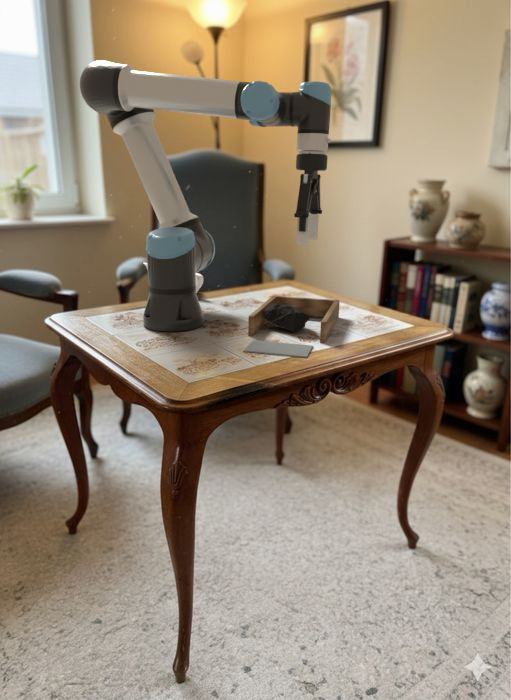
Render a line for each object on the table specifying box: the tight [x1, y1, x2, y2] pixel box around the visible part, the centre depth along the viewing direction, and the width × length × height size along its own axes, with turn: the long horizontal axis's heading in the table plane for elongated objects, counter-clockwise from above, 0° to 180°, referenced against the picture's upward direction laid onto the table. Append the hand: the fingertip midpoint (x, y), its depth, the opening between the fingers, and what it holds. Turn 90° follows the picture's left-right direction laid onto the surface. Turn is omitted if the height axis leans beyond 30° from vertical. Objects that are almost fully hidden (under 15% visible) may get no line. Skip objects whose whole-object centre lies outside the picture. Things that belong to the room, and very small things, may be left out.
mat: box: [242, 339, 314, 359], centre depth 119 cm, size 14×8×1 cm, turn 74°
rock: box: [264, 304, 310, 333], centre depth 133 cm, size 8×11×10 cm
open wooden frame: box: [247, 295, 340, 344], centre depth 136 cm, size 18×24×5 cm
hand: (307, 242), depth 136 cm, fingers open, 13 cm apart
